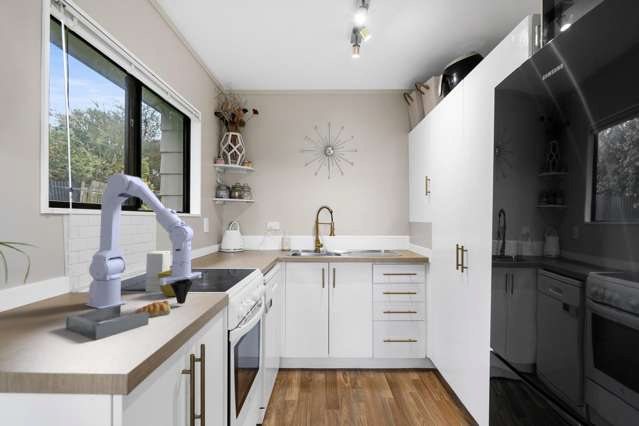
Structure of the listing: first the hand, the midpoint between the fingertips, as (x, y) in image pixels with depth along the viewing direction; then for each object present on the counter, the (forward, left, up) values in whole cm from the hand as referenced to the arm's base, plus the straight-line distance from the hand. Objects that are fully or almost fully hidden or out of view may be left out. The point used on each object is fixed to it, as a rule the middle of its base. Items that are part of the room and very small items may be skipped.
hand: (181, 303), depth 102 cm
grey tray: (0, -22, -1) cm, 22 cm away
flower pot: (-15, +9, -1) cm, 17 cm away
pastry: (+1, -9, -2) cm, 10 cm away
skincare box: (-28, +11, -1) cm, 30 cm away
